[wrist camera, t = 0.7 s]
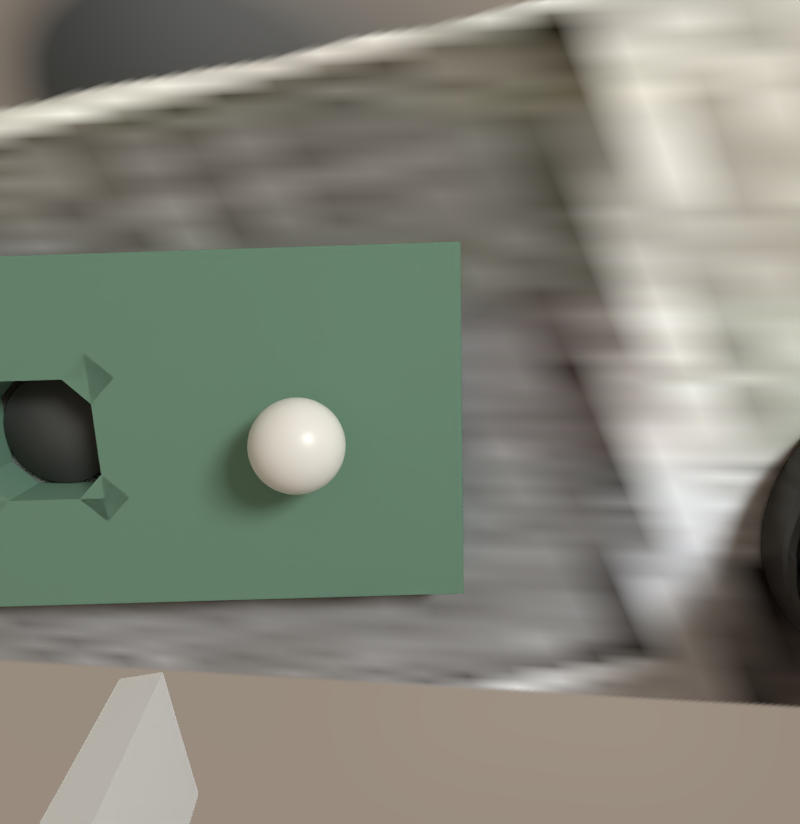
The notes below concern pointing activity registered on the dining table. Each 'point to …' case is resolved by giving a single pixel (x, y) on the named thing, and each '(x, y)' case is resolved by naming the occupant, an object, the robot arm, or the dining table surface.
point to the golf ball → (296, 446)
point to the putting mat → (228, 423)
